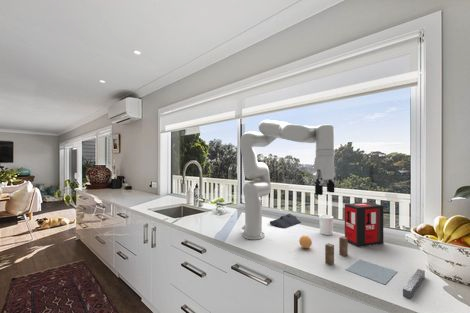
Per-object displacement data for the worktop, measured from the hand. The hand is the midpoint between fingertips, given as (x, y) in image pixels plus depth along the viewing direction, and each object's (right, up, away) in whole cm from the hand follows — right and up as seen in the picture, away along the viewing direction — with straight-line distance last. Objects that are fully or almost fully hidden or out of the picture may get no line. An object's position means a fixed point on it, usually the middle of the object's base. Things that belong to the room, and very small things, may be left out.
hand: (324, 193), depth 98 cm
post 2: (+12, -30, +8) cm, 33 cm away
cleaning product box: (+30, -30, +23) cm, 48 cm away
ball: (-3, -27, +16) cm, 32 cm away
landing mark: (+16, -30, -7) cm, 35 cm away
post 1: (+2, -30, 0) cm, 30 cm away
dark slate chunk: (-5, -31, +58) cm, 66 cm away
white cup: (+15, -30, +37) cm, 50 cm away
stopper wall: (+25, -30, -18) cm, 43 cm away
